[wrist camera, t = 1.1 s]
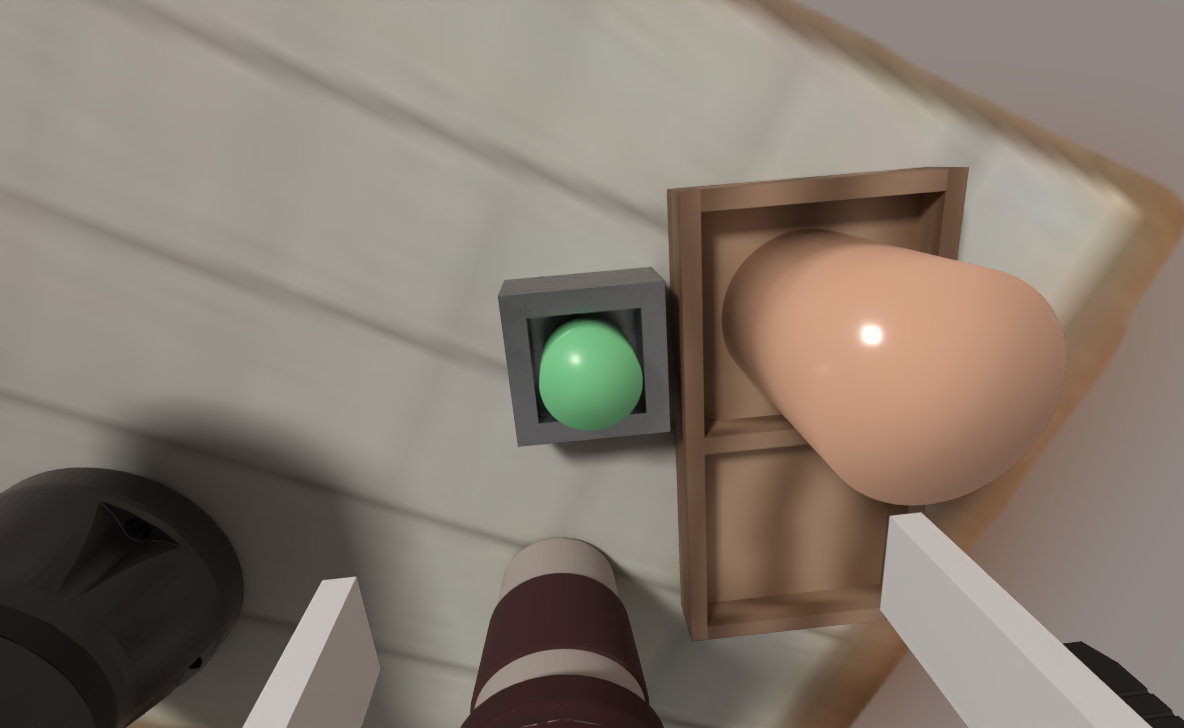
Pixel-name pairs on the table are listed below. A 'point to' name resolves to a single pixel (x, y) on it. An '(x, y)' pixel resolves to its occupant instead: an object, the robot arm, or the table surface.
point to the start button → (589, 374)
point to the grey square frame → (558, 299)
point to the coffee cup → (560, 647)
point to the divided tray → (758, 429)
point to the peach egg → (896, 360)
